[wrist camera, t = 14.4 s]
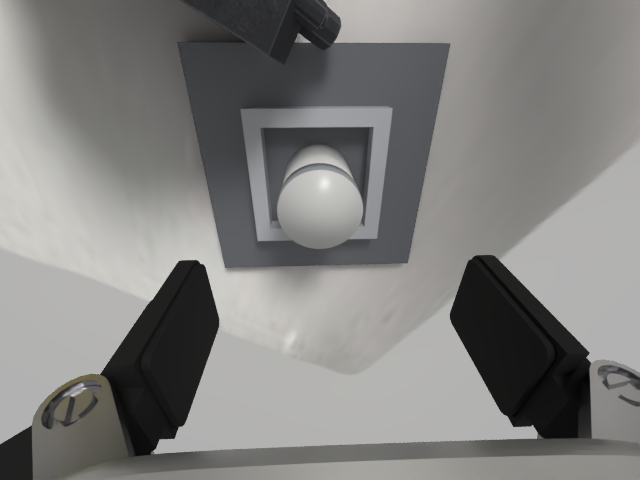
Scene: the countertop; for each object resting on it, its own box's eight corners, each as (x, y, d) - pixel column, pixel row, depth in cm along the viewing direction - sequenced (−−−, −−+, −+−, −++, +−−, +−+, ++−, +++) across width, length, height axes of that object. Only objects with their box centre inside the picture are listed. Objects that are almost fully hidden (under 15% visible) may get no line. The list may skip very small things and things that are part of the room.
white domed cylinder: (351, 142, 22) (367, 170, 16) (347, 205, 24) (360, 249, 18) (283, 142, 22) (273, 170, 16) (286, 206, 24) (279, 250, 18)
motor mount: (443, 44, 20) (460, 41, 17) (404, 257, 29) (412, 272, 27) (183, 43, 19) (167, 39, 17) (227, 261, 28) (221, 277, 26)
